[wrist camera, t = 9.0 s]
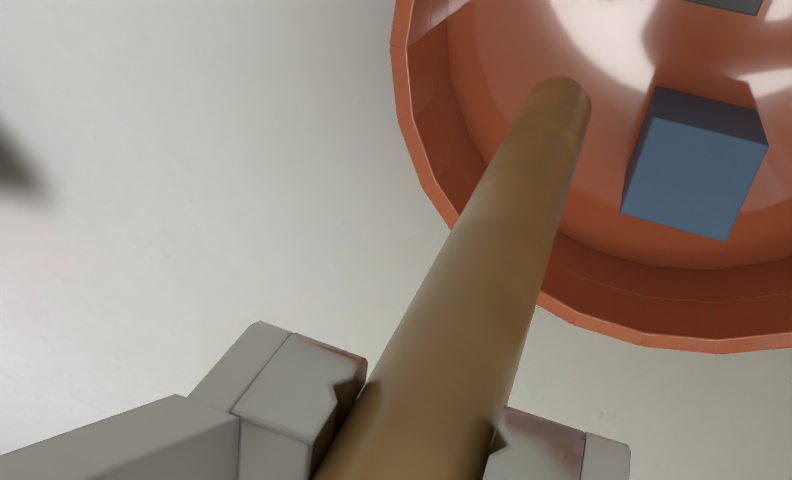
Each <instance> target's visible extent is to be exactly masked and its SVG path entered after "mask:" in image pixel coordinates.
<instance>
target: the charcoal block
mask: <svg viewBox="0 0 792 480" xmlns="http://www.w3.org/2000/svg"><path fill="white" fill-rule="evenodd" d="M683 1H688V2H692V3H697V4H701V5H706V6H710V7H715V8H720V9H724V10H729V11H733V12H738V13H743V14H747V15H752V16H757V14H758V11H759V9H760V6H761V4H762V1H763V0H683Z"/></svg>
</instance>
